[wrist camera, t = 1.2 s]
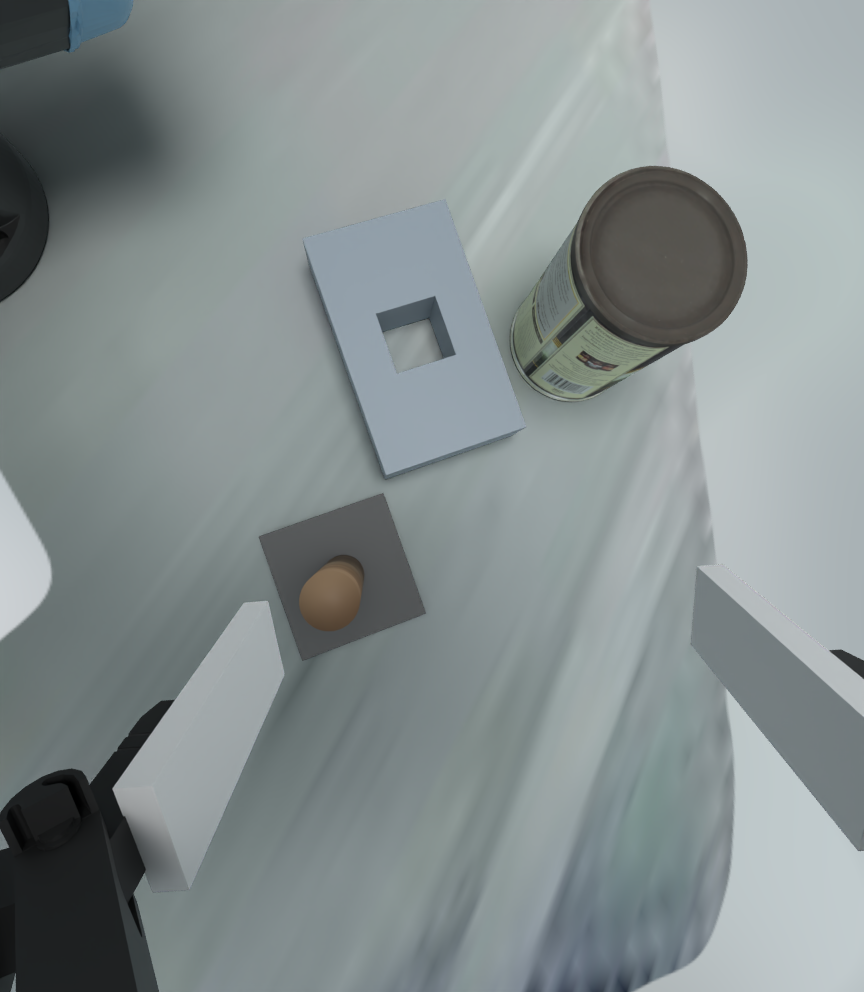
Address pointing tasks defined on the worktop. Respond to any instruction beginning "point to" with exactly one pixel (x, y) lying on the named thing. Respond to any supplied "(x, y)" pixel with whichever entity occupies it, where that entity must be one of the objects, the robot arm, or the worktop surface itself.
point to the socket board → (403, 300)
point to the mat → (355, 534)
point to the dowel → (333, 594)
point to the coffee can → (630, 283)
